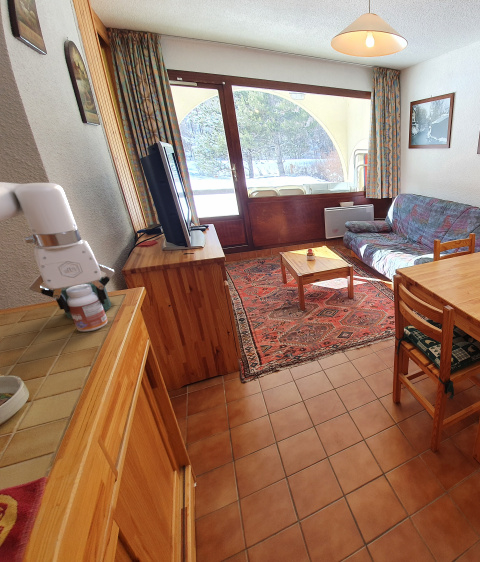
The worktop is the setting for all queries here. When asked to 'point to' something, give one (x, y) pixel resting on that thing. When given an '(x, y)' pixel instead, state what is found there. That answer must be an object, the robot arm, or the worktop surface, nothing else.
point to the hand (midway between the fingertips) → (85, 305)
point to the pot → (107, 301)
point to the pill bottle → (85, 308)
